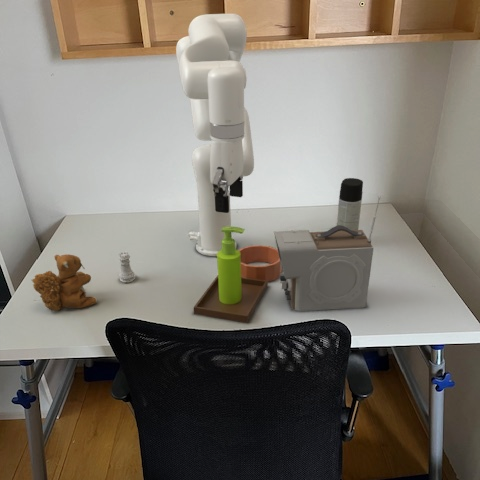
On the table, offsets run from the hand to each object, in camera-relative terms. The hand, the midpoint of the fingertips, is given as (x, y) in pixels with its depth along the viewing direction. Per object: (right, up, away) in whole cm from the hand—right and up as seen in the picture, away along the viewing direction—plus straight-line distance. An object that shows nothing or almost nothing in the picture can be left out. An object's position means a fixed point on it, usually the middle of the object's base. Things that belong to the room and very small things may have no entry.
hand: (229, 203), depth 127 cm
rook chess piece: (-29, -16, +24) cm, 41 cm away
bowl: (+8, -14, +27) cm, 31 cm away
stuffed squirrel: (-43, -23, +14) cm, 51 cm away
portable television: (+23, -23, +13) cm, 35 cm away
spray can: (+36, -4, +41) cm, 54 cm away
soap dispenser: (0, -22, +14) cm, 26 cm away
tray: (0, -22, +14) cm, 26 cm away
